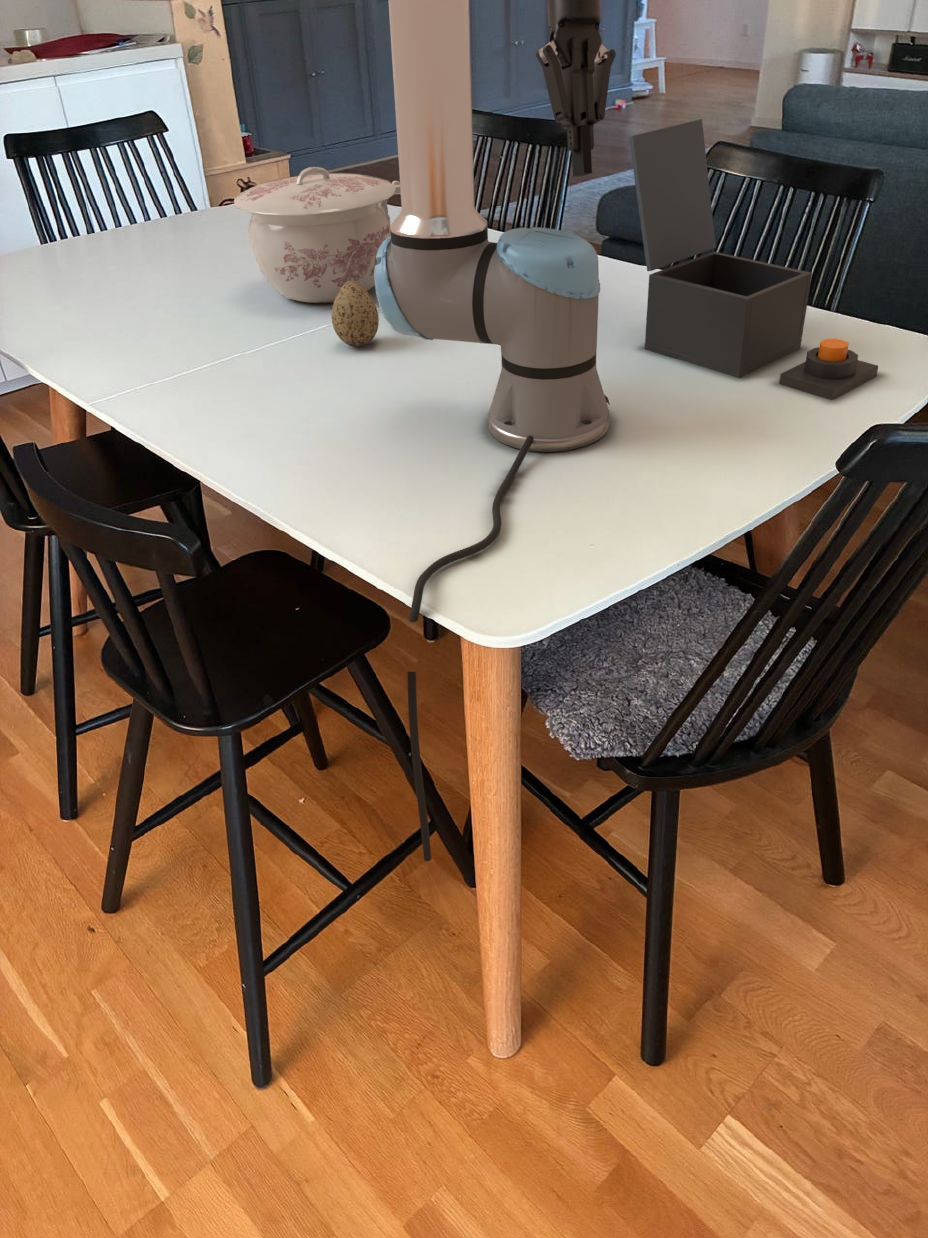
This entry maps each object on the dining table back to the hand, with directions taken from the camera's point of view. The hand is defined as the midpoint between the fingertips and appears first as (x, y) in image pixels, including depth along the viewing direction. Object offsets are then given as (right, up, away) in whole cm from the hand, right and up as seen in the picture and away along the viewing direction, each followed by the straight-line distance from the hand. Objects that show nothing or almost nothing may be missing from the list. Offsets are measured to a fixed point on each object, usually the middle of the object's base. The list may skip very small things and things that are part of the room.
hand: (582, 174), depth 145 cm
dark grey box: (+20, -27, -2) cm, 33 cm away
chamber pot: (-42, -8, +29) cm, 52 cm away
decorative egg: (-34, -24, +7) cm, 42 cm away
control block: (+32, -34, -13) cm, 48 cm away
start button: (+32, -31, -15) cm, 47 cm away
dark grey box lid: (+13, -6, -7) cm, 16 cm away
